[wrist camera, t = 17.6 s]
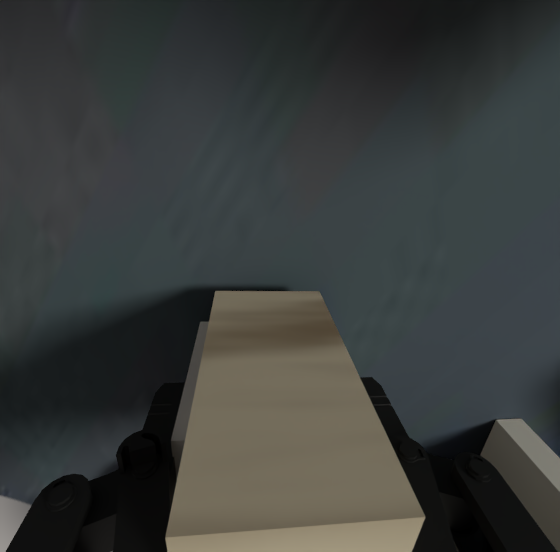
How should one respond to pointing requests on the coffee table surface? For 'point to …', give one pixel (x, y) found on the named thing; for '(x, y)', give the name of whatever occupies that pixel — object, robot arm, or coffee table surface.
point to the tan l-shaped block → (285, 440)
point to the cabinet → (528, 472)
